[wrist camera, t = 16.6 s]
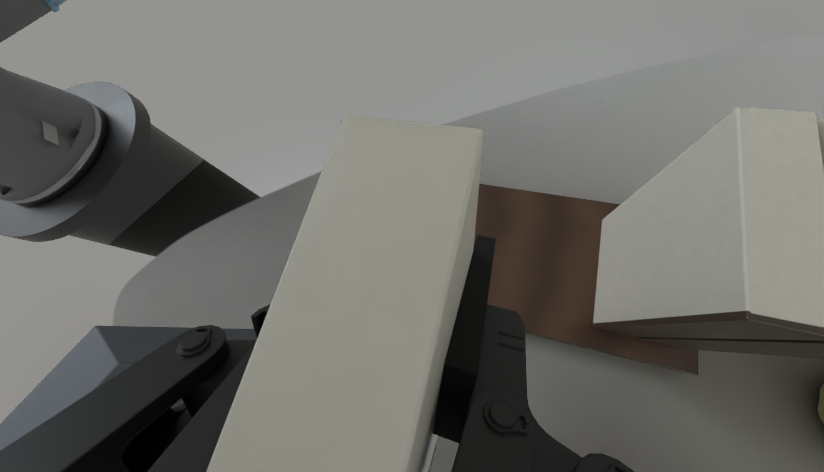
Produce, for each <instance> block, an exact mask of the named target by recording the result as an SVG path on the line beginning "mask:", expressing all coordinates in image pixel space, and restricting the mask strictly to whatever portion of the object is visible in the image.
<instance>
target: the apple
mask: <svg viewBox="0 0 824 472" xmlns="http://www.w3.org/2000/svg"><path fill="white" fill-rule="evenodd" d="M818 413H819V416H820V419H821V421H822V423H823V425H824V383H823V385H822V386H821V388H820V394H819V403H818Z"/></svg>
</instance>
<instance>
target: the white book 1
mask: <svg viewBox="0 0 824 472" xmlns="http://www.w3.org/2000/svg"><path fill="white" fill-rule="evenodd" d="M483 137H484V134H483V130H481V129H477V128H468V127H458V126H449V125H438V124H429V123H420V122H410V121H401V120H390V119H382V118H372V117H362V116H353V115H344V116H343V118H342V120H341V123H340V125H339V128H338V131H337V133H336V136H335V138H334V141H333V144H332V146H331V149H330V151H329V154H328V157H327V159H326V162H325V165H324V167H323V170H322V172H321V175H320V177H319V180H318V183H317V185H316V188H315V190H314V193H313V196H312V198H311V201H310V203H309V206H308V208H307V211H306V214H305V216H304V219H303V221H302V224H301V227H300V229H299V232H298V234H297V237H296V240H295V242H294V245H293V247H292V250H291V253H290V255H289V258H288V260H287V263H286V266H285V268H284V271H283V273H282V276H281V279H280V281H279V284H278V286H277V289H276V292H275V294H274V297H273V299H272V302H271V305H270V307H269V310H268V312H267V315H266V318H265V320H264V323H263V325H262V328H261V331H260V333H259V336H258V338H257V341H256V344H255V346H254V349H253V351H252V354H251V357H250V359H249V362H248V364H247V367H246V370H245V372H244V375H243V377H242V380H241V383H240V385H239V388H238V390H237V393H236V396H235V398H234V401H233V403H232V406H231V409H230V411H229V414H228V416H227V419H226V422H225V424H224V427H223V429H222V432H221V435H220V437H219V440H218V442H217V445H216V448H215V450H214V453H213V455H212V458H211V461H210V463H209V466H208V468H207V471H206V472H429V471H430V467H431V464H432V460H433V456H434V452H435V449H436V444H437V437H438V435H435V434H433V428H434V422H435V416H436V410H437V404H438V397H439V391H440V385H441V379H442V373H443V367H444V362H445V358H446V354H447V351H448V347H449V343H450V339H451V335H452V331H453V327H454V324H455V320H456V316H457V312H458V308H459V304H460V300H461V296H462V293H463V289H464V285H465V281H466V277H467V273H468V269H469V266H470V262H471V258H472V254H473V248H474V237H475V226H476V215H477V204H478V192H479V181H480V170H481V159H482V148H483Z"/></svg>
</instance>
